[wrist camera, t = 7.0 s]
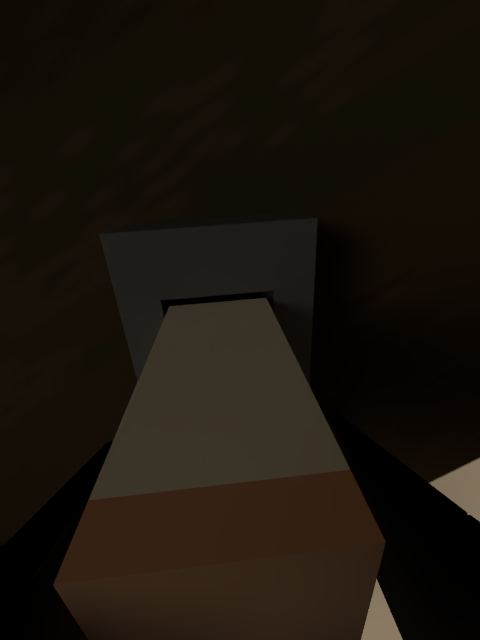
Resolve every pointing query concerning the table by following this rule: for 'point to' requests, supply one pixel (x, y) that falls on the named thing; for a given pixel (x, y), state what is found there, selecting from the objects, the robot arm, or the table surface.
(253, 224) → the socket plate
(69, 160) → the table surface
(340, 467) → the brown rectangular block
